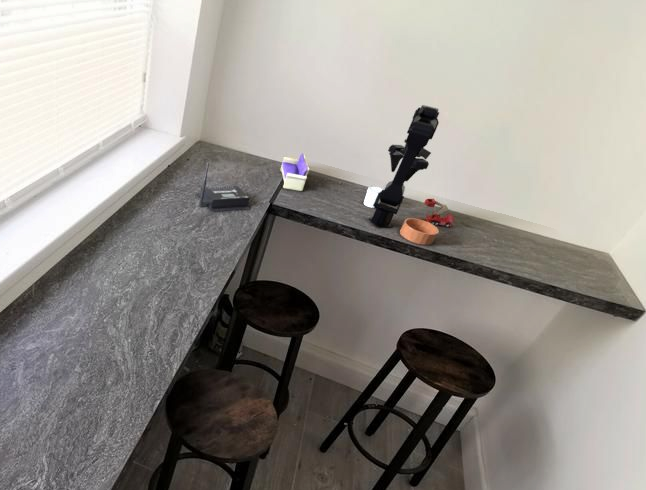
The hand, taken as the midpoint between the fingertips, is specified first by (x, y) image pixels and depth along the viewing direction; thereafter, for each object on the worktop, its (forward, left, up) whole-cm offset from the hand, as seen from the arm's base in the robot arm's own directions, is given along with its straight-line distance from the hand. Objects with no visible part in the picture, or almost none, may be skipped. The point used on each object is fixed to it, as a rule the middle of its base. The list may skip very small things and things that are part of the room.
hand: (399, 176), depth 203 cm
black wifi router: (-78, -1, -12) cm, 79 cm away
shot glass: (-10, -2, -12) cm, 16 cm away
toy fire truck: (+10, -18, -12) cm, 24 cm away
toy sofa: (-37, +20, -12) cm, 44 cm away
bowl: (-6, -28, -12) cm, 31 cm away
